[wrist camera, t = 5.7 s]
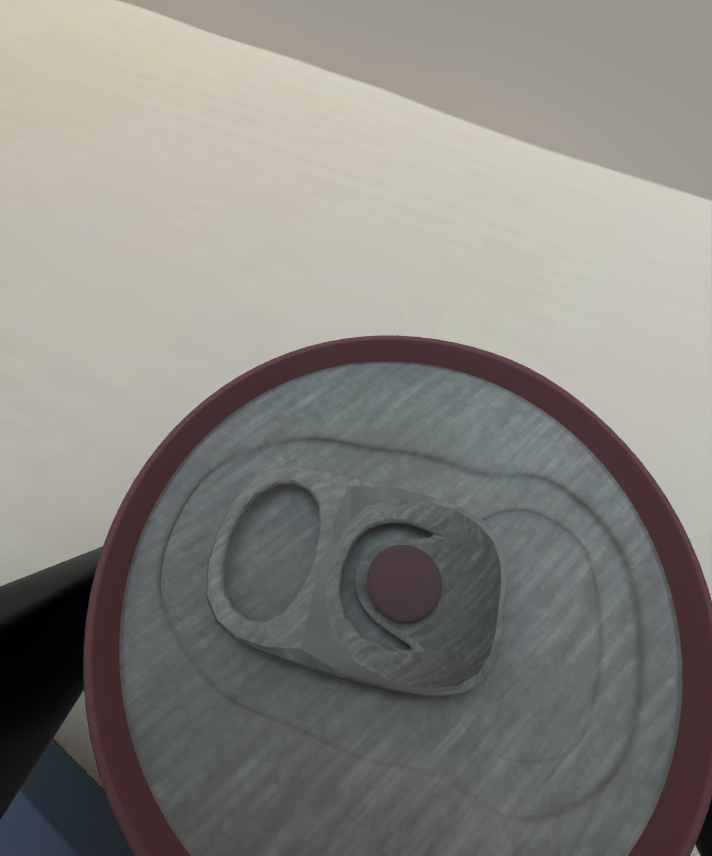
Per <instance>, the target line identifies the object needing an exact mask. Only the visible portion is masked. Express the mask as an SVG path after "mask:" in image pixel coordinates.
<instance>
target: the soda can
mask: <svg viewBox="0 0 712 856" xmlns="http://www.w3.org/2000/svg"><path fill="white" fill-rule="evenodd" d="M84 692H85V705H86V713H87V720H88V726H89V732H90V739H91V743H92V747H93V751H94V755H95V760H96V764H97V768H98V771H99V774H100V777H101V780H102V784H103V787H104V790H105V793H106V796H107V799H108V801H109V804H110V806H111V808H112V811H113V813H114V815H115V818H116V820H117V822H118V825H119V827H120V829H121V831H122V833H123V835H124V837H125V839H126V841H127V843H128V845H129V846H130V848H131V850H132V852H133V854H134V856H690V854H691V852H692V850H693V848H694V846H695V843H696V841H697V839H698V837H699V834H700V831H701V828H702V826H703V823H704V820H705V818H706V815H707V812H708V809H709V805H710V802H711V798H712V601H711V597H710V593H709V590H708V586H707V584H706V581H705V578H704V575H703V572H702V569H701V566H700V563H699V561H698V559H697V556H696V554H695V552H694V549H693V547H692V544H691V542H690V540H689V538H688V536H687V534H686V532H685V530H684V528H683V526H682V524H681V522H680V520H679V518H678V516H677V515H676V513H675V511H674V509H673V508H672V506H671V504H670V503H669V501H668V499H667V498H666V496H665V495H664V493H663V492H662V490H661V489H660V487H659V486H658V484H657V483H656V481H655V480H654V478H653V477H652V476H651V474H650V473H649V472H648V470H647V469H646V468H645V466H644V465H643V464H642V463H641V461H640V460H639V459H638V458H637V457H636V455H635V454H634V453H633V452H632V451H631V450H630V448H629V447H628V446H627V445H626V444H625V443H624V442H623V441H622V440H621V439H620V438H619V437H618V436H617V434H616V433H615V432H614V431H613V430H612V429H611V428H610V427H609V426H607V425H606V424H605V423H604V422H603V421H602V420H601V419H600V418H599V417H598V416H597V415H596V414H595V413H593V412H592V411H591V410H590V409H589V408H587V407H586V406H585V405H584V404H583V403H581V402H580V401H579V400H578V399H576V398H575V397H574V396H572V395H571V394H569V393H568V392H567V391H565V390H564V389H563V388H561V387H560V386H558V385H557V384H555V383H554V382H552V381H550V380H549V379H547V378H546V377H544V376H542V375H540V374H539V373H537V372H535V371H533V370H531V369H530V368H528V367H525V366H523V365H521V364H519V363H517V362H514V361H512V360H510V359H507V358H505V357H502V356H499V355H497V354H494V353H491V352H488V351H484V350H481V349H478V348H475V347H471V346H466V345H462V344H458V343H454V342H448V341H443V340H437V339H430V338H422V337H410V336H364V337H355V338H347V339H340V340H335V341H329V342H324V343H320V344H316V345H312V346H308V347H305V348H302V349H299V350H296V351H293V352H290V353H287V354H285V355H282V356H280V357H277V358H274V359H272V360H270V361H268V362H266V363H264V364H261V365H259V366H257V367H255V368H253V369H251V370H250V371H248V372H246V373H244V374H242V375H241V376H239V377H237V378H236V379H234V380H232V381H231V382H229V383H228V384H226V385H225V386H223V387H222V388H220V389H219V390H218V391H216V392H215V393H214V394H212V395H211V396H210V397H208V398H207V399H206V400H204V401H203V402H202V403H201V404H200V405H198V406H197V407H196V408H195V409H194V410H193V411H192V412H190V413H189V414H188V415H187V416H186V417H185V418H184V419H183V420H182V421H181V422H180V423H179V424H178V425H177V426H176V427H175V428H174V429H173V430H172V431H171V432H170V434H169V435H168V436H167V437H166V438H165V439H164V440H163V442H162V443H161V444H160V445H159V446H158V448H157V449H156V450H155V452H154V453H153V454H152V455H151V457H150V458H149V459H148V461H147V462H146V463H145V465H144V467H143V468H142V470H141V471H140V473H139V474H138V476H137V477H136V479H135V480H134V482H133V484H132V485H131V487H130V489H129V491H128V492H127V494H126V496H125V498H124V499H123V501H122V503H121V506H120V508H119V510H118V512H117V514H116V516H115V518H114V520H113V522H112V525H111V527H110V530H109V533H108V535H107V538H106V540H105V543H104V545H103V549H102V552H101V555H100V558H99V562H98V565H97V568H96V572H95V576H94V580H93V585H92V589H91V593H90V598H89V605H88V612H87V618H86V626H85V639H84Z"/></svg>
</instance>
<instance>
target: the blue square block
mask: <svg viewBox="0 0 712 856" xmlns="http://www.w3.org/2000/svg"><path fill="white" fill-rule="evenodd" d="M0 856H134V854H133V852H132V850H131V848H130V846H129V845H128V843H127V841H126V839H125V837H124V835H123V833H122V831H121V829H120V827H119V825H118V822H117V820H116V818H115V815H114V813H113V811H112V808H111V806H110V804H109V801H108V799H107V796H106V793H105V792H104V791H103V790H102V789H101V788H100V787H99V786H98V785H97V784H96V783H95V782H94V781H93V780H92V779H91V777H90V776H89V775H88V774H87V773H86V772H85V771H84V770H83V769H82V768H81V767H80V766H79V765H78V764H77V763H76V762H75V761H74V760H73V759H72V758H71V757H70V756H69V755H68V754H67V753H66V752H65V751H64V750H63V749H62V748H61V747H60V746H59V745H58V744H57V743H56V742H55V741H54V740H53V739H52V740H51V742H50V743H49V745H48V746H47V748H46V750H45V751H44V753H43V754H42V756H41V757H40V759H39V760H38V762H37V764H36V765H35V767H34V768H33V770H32V771H31V773H30V774H29V776H28V777H27V779H26V781H25V782H24V784H23V785H22V787H21V788H20V790H19V791H18V793H17V795H16V796H15V798H14V799H13V801H12V802H11V804H10V805H9V807H8V809H7V810H6V812H5V813H4V815H3V816H2V818H1V819H0Z"/></svg>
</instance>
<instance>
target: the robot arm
mask: <svg viewBox="0 0 712 856" xmlns="http://www.w3.org/2000/svg"><path fill="white" fill-rule="evenodd" d="M102 549H103V547H100V548H98V549H95V550H93V551H90V552H88V553H85V554H82V555H80V556H77V557H75V558H72V559H70V560H67V561H65V562H62V563H59V564H57V565H54V566H52V567H49V568H47V569H44V570H41V571H39V572H36V573H34V574H31V575H29V576H26V577H24V578H21V579H18V580H16V581H13V582H11V583H8V584H6V585H3V586H1V587H0V819H1V818H2V816H3V815H4V813H5V812H6V810H7V809H8V807H9V805H10V804H11V802H12V801H13V799H14V798H15V796H16V795H17V793H18V791H19V790H20V788H21V787H22V785H23V784H24V782H25V781H26V779H27V777H28V776H29V774H30V773H31V771H32V770H33V768H34V767H35V765H36V764H37V762H38V760H39V759H40V757H41V756H42V754H43V753H44V751H45V750H46V748H47V746H48V745H49V743H50V742H51V740H52V739H53V737H54V736H55V734H56V732H57V731H58V729H59V728H60V726H61V725H62V723H63V722H64V720H65V719H66V717H67V715H68V714H69V712H70V711H71V709H72V708H73V706H74V705H75V703H76V701H77V700H78V698H79V697H80V695H81V694H82V692H83V691H84V639H85V626H86V618H87V612H88V605H89V598H90V593H91V589H92V585H93V580H94V576H95V572H96V568H97V565H98V562H99V558H100V555H101V552H102ZM695 845H696V847H697V849H698V851H699V854H700V856H712V798H711V802H710V805H709V809H708V812H707V815H706V818H705V820H704V823H703V826H702V828H701V831H700V834H699V837H698V839H697V841H696V843H695Z"/></svg>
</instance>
